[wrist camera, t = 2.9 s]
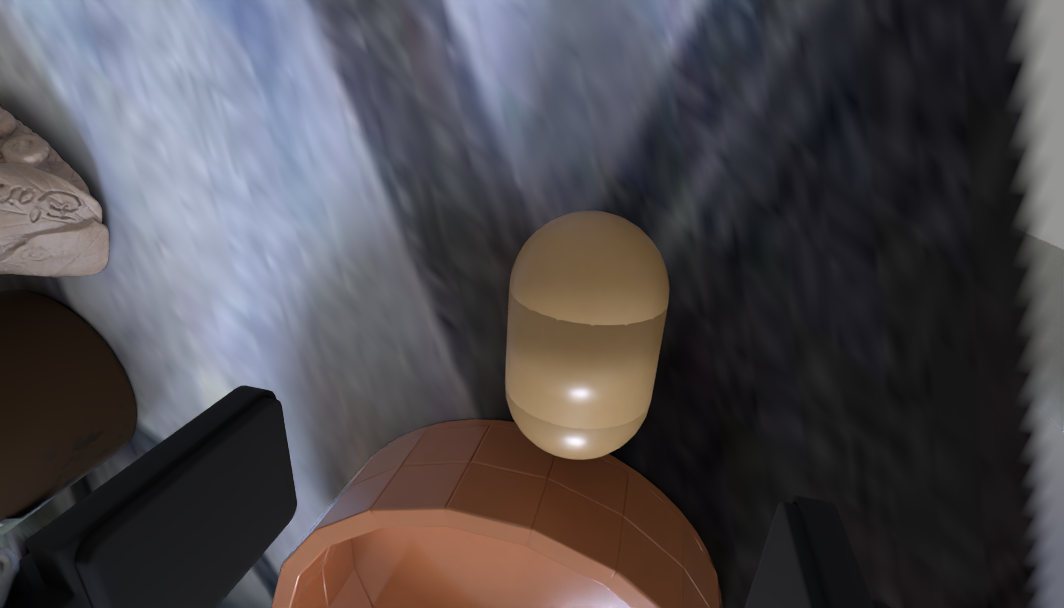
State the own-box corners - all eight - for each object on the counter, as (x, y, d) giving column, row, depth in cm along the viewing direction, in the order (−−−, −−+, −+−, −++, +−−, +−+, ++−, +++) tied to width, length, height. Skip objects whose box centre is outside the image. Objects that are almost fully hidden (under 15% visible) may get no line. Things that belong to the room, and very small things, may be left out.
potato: (535, 188, 17) (490, 223, 13) (681, 204, 16) (683, 247, 12) (522, 393, 20) (483, 473, 16) (644, 417, 19) (636, 508, 15)
